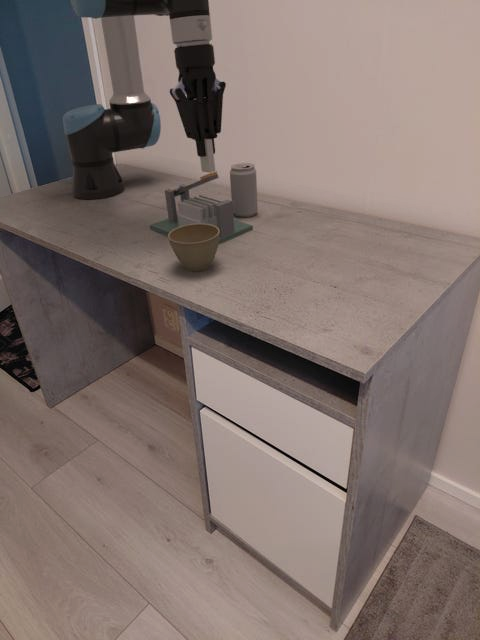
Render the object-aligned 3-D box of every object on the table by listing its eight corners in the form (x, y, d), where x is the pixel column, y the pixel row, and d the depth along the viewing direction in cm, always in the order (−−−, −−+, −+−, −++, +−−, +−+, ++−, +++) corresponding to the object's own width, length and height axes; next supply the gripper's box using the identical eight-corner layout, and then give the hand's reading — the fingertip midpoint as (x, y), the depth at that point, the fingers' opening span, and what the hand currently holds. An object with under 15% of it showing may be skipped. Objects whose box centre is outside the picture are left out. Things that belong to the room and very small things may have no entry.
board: (150, 229, 114) (144, 194, 110) (197, 211, 123) (194, 179, 118) (204, 250, 102) (200, 212, 97) (252, 229, 110) (251, 193, 106)
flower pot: (196, 251, 101) (193, 219, 97) (232, 262, 96) (230, 229, 92) (162, 269, 95) (157, 235, 91) (198, 282, 89) (194, 246, 86)
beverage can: (247, 220, 116) (245, 170, 109) (227, 215, 119) (223, 167, 113) (262, 212, 120) (261, 163, 114) (242, 208, 123) (240, 161, 117)
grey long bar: (172, 197, 113) (169, 190, 112) (180, 194, 114) (178, 187, 114) (210, 182, 101) (207, 174, 100) (219, 179, 102) (216, 171, 102)
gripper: (178, 45, 84) (196, 180, 95) (231, 40, 91) (242, 166, 103) (153, 48, 88) (173, 176, 100) (206, 44, 96) (219, 163, 108)
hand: (208, 171), depth 101 cm, fingers closed
